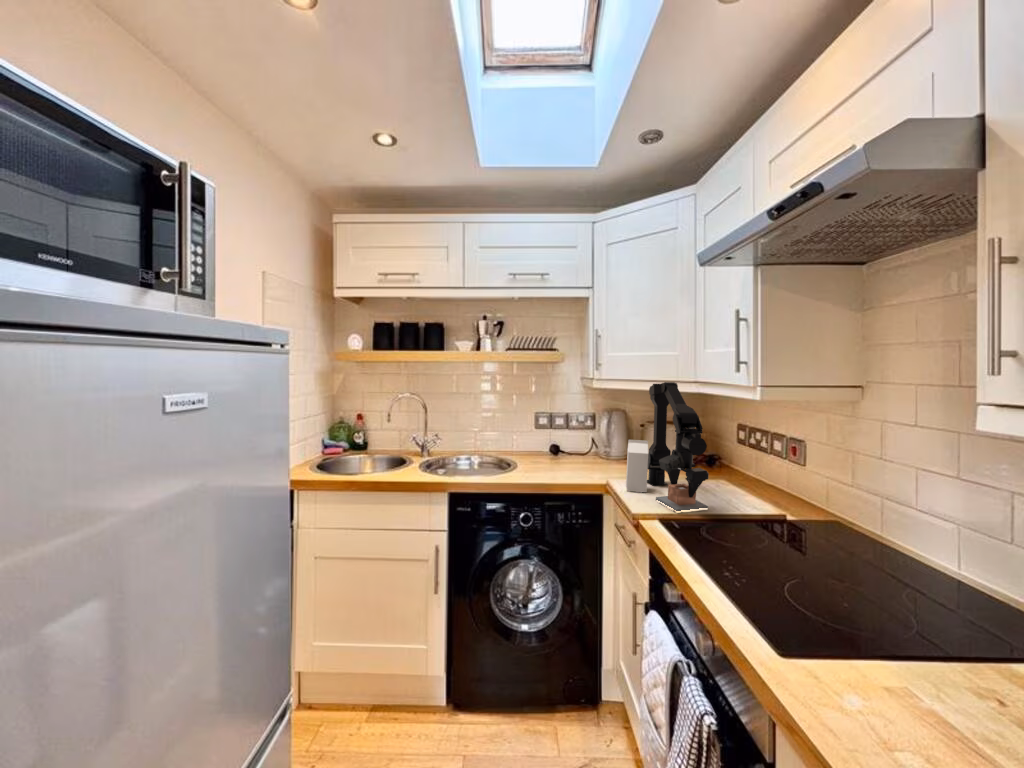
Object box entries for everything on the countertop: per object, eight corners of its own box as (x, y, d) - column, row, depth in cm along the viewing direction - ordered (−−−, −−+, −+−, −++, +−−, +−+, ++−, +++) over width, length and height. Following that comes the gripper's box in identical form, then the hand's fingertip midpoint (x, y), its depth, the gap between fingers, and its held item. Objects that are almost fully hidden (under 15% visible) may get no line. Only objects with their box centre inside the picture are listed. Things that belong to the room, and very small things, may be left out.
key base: (655, 501, 162) (656, 484, 161) (684, 498, 165) (685, 482, 164) (676, 513, 150) (677, 495, 150) (707, 510, 153) (708, 492, 153)
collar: (667, 498, 160) (668, 484, 159) (683, 497, 161) (684, 483, 161) (679, 505, 153) (679, 490, 153) (695, 503, 155) (696, 489, 155)
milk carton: (646, 493, 170) (648, 442, 168) (626, 491, 171) (628, 441, 169) (644, 487, 177) (647, 438, 175) (625, 485, 178) (628, 437, 176)
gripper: (648, 443, 162) (645, 486, 164) (681, 455, 144) (678, 504, 146) (675, 441, 165) (672, 484, 167) (711, 454, 147) (708, 501, 149)
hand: (681, 492), depth 157 cm, fingers open, 9 cm apart
